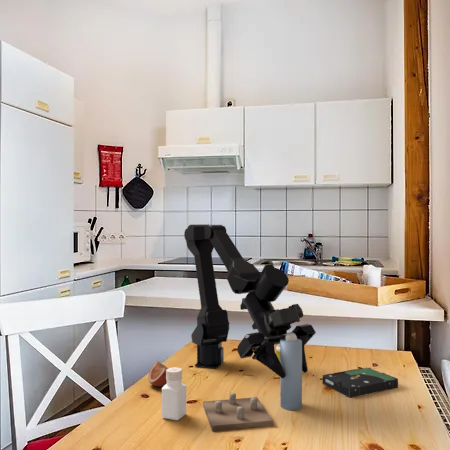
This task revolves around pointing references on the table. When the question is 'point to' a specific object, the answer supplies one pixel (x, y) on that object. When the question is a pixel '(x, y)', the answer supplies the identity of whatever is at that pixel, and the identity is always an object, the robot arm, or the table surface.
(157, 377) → the fruit slice
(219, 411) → the brown pegged base plate
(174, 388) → the white plastic bottle
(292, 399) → the pepper mill
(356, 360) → the table surface
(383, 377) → the disk drive
